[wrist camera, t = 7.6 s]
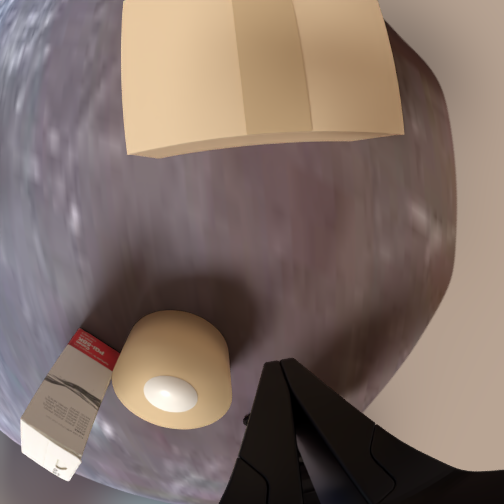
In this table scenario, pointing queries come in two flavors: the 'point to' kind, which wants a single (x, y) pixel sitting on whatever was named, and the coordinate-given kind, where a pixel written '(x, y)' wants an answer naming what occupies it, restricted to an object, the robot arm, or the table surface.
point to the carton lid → (254, 70)
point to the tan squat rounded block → (174, 371)
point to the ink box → (67, 405)
